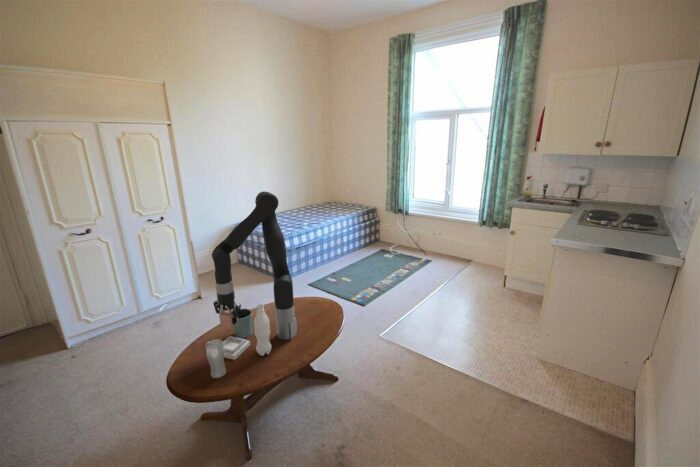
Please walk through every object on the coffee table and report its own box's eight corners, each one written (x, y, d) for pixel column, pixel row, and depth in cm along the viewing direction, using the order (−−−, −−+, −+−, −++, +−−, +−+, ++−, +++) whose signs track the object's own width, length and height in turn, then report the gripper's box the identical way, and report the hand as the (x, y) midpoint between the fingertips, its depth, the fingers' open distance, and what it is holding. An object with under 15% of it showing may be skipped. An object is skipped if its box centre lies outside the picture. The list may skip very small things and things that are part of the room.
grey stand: (250, 344, 158) (249, 338, 157) (234, 359, 147) (234, 353, 146) (230, 340, 161) (229, 334, 160) (213, 354, 150) (212, 348, 149)
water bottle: (258, 359, 147) (253, 311, 140) (255, 350, 153) (250, 304, 146) (273, 354, 150) (269, 307, 143) (269, 346, 157) (266, 300, 150)
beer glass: (212, 368, 141) (208, 339, 137) (228, 367, 142) (225, 338, 138) (207, 379, 135) (202, 349, 130) (224, 378, 135) (220, 348, 131)
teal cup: (254, 337, 164) (252, 316, 161) (233, 341, 161) (231, 320, 157) (253, 326, 173) (251, 307, 170) (233, 330, 170) (231, 310, 166)
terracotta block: (237, 321, 152) (236, 310, 150) (230, 327, 147) (228, 316, 145) (228, 319, 153) (227, 308, 152) (220, 325, 148) (219, 314, 147)
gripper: (243, 288, 146) (246, 321, 151) (218, 284, 151) (222, 316, 155) (232, 296, 139) (236, 329, 144) (206, 291, 144) (211, 324, 149)
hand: (229, 322), depth 150 cm, fingers closed on terracotta block, 5 cm apart
